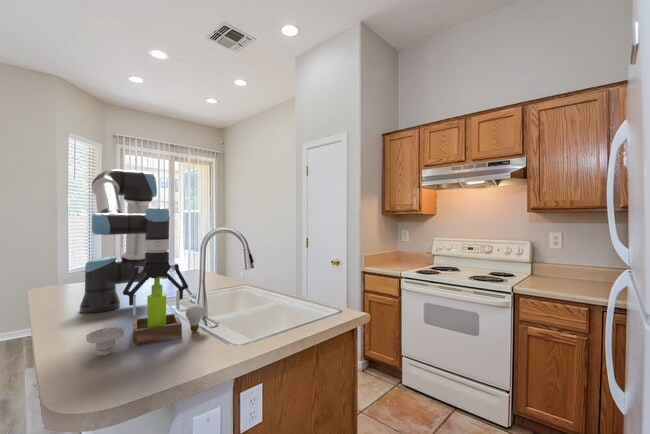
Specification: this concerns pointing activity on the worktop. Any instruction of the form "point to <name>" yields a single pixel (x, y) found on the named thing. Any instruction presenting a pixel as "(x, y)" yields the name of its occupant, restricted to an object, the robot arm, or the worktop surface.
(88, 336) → the showerhead
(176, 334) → the wooden box
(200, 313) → the light bulb
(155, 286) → the soap dispenser
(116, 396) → the worktop surface
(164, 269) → the robot arm
